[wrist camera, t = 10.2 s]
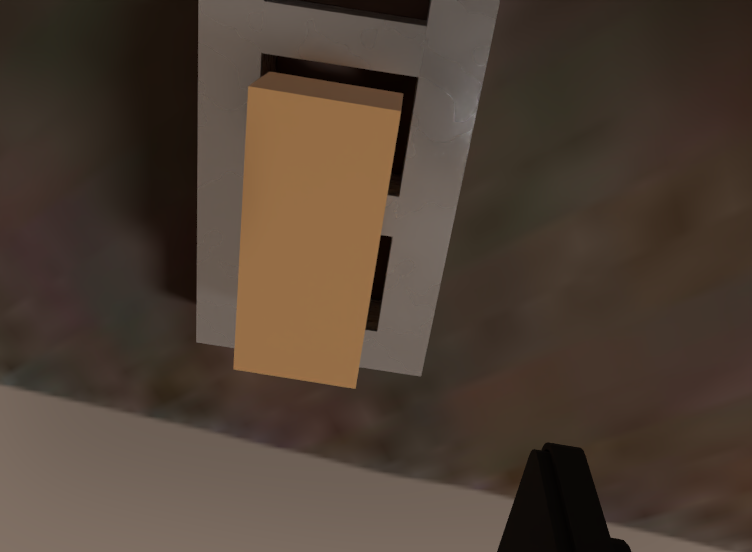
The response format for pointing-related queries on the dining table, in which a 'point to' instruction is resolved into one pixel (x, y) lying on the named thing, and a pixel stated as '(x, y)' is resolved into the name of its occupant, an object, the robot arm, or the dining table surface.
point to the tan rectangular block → (311, 224)
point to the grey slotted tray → (406, 191)
